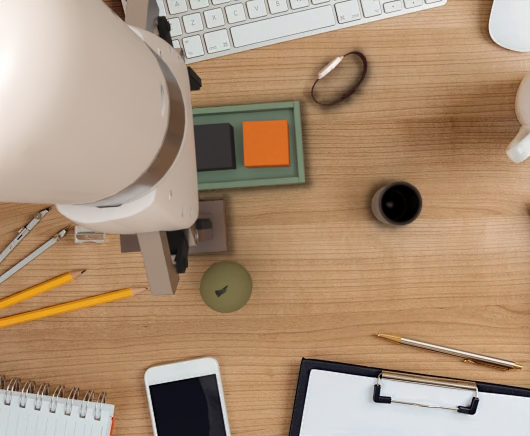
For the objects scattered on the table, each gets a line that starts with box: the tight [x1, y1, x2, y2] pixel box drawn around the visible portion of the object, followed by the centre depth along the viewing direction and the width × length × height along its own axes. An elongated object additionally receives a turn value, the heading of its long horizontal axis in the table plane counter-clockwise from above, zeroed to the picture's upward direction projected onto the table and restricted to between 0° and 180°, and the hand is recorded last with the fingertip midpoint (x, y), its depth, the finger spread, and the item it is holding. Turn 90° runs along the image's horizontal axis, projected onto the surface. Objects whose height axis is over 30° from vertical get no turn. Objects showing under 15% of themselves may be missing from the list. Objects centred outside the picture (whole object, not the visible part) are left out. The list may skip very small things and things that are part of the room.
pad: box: [193, 123, 236, 172], centre depth 70 cm, size 5×5×3 cm
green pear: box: [199, 260, 254, 314], centre depth 67 cm, size 6×6×10 cm
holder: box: [192, 100, 307, 192], centre depth 71 cm, size 14×9×2 cm, turn 94°
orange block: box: [243, 120, 290, 168], centre depth 70 cm, size 5×5×3 cm
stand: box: [119, 199, 229, 255], centre depth 60 cm, size 6×6×24 cm
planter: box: [370, 180, 423, 227], centre depth 67 cm, size 4×4×10 cm
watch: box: [310, 50, 368, 107], centre depth 70 cm, size 8×5×4 cm, turn 132°
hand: (184, 155), depth 42 cm, fingers open, 9 cm apart
